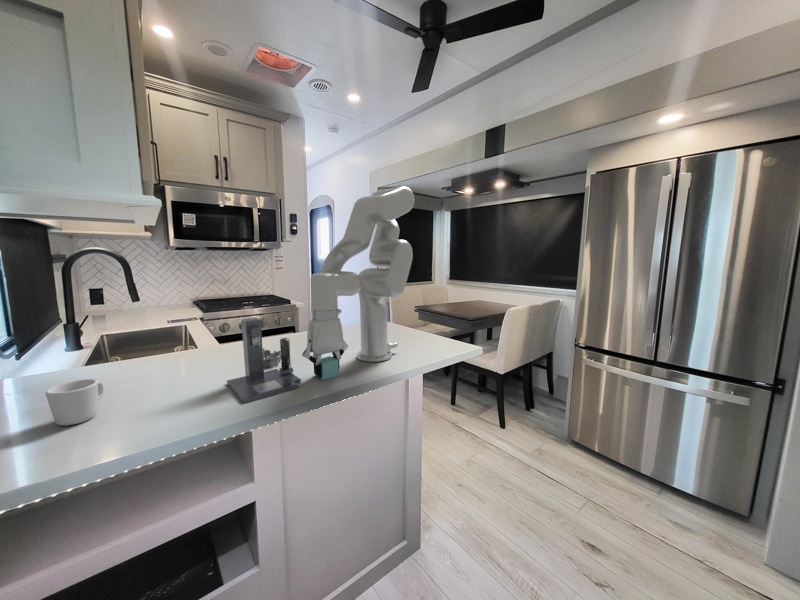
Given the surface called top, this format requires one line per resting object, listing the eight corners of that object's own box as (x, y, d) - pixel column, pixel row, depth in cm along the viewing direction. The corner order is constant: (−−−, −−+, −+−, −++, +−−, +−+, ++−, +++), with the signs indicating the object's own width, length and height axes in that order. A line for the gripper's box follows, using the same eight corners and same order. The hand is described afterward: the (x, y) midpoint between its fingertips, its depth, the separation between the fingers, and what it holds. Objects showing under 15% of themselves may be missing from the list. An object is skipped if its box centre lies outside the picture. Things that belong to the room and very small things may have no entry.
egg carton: (263, 358, 112) (262, 347, 112) (285, 358, 113) (284, 346, 113) (253, 369, 102) (252, 357, 101) (277, 368, 103) (276, 356, 102)
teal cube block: (330, 371, 99) (329, 355, 98) (338, 375, 95) (338, 359, 95) (315, 375, 96) (315, 359, 95) (323, 380, 92) (323, 363, 92)
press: (283, 370, 100) (280, 314, 97) (305, 385, 88) (302, 322, 86) (226, 383, 89) (221, 321, 87) (243, 403, 77) (237, 332, 75)
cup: (86, 406, 76) (81, 374, 75) (121, 405, 77) (117, 373, 76) (39, 430, 66) (33, 394, 65) (80, 429, 66) (74, 392, 65)
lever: (289, 369, 97) (287, 337, 96) (293, 372, 95) (291, 339, 93) (279, 371, 95) (277, 339, 94) (283, 374, 93) (281, 341, 91)
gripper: (343, 310, 101) (344, 364, 104) (291, 316, 90) (294, 377, 93) (356, 313, 96) (357, 370, 98) (302, 320, 85) (305, 385, 87)
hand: (327, 373), depth 96 cm, fingers closed on teal cube block, 5 cm apart
